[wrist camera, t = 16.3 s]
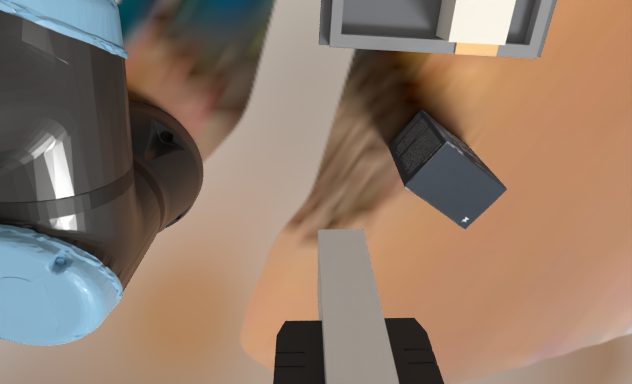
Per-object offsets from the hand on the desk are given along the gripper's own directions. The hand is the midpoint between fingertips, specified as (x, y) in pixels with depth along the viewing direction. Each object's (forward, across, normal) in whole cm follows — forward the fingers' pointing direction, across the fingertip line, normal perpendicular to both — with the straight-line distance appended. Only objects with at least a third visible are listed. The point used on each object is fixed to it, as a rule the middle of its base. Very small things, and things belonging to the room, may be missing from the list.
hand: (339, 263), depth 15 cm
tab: (+31, +14, +6) cm, 35 cm away
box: (+33, +13, -9) cm, 37 cm away
